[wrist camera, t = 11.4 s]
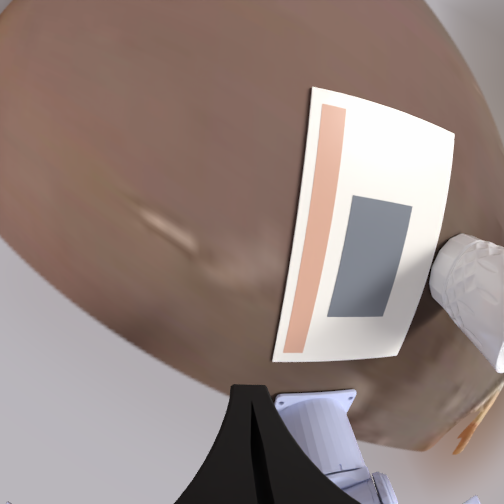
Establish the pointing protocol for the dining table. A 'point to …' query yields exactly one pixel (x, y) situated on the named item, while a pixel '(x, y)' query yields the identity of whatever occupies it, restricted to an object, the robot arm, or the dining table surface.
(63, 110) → the dining table surface
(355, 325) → the menu card
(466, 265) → the white cup
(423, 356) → the dining table surface
